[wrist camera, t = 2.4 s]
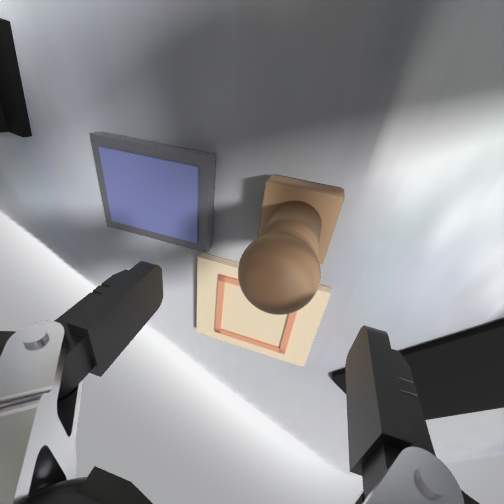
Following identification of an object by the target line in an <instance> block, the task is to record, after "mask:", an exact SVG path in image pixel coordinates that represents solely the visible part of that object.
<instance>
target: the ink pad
mask: <svg viewBox="0 0 504 504" xmlns="http://www.w3.org/2000/svg"><path fill="white" fill-rule="evenodd" d="M90 138H91V143H92V149H93V154H94V159H95V164H96V170H97V175H98V180H99V185H100V190H101V196H102V201H103V206H104V211H105V217H106V222H107V226H109V227H113V228H117V229H121V230H124V231H128V232H132V233H135V234H139V235H143V236H147V237H150V238H154V239H158V240H161V241H165V242H169V243H173V244H176V245H180V246H184V247H187V248H191V249H195V250H199V251H202V252H207V251H208V250H209V249H210V248H211V246H212V232H213V210H214V189H215V168H216V154H212V153H207V152H202V151H197V150H192V149H187V148H182V147H177V146H171V145H166V144H161V143H156V142H151V141H146V140H141V139H136V138H131V137H126V136H121V135H116V134H110V133H105V132H96V133H90Z"/></svg>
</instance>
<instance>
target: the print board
mask: <svg viewBox="0 0 504 504" xmlns="http://www.w3.org/2000/svg"><path fill="white" fill-rule="evenodd" d="M238 267H239V263H238V262H234V261H230V260H227V259H223V258H219V257H216V256H212V255H208V254H205V253H201V254H200V255H199V256H198V260H197V331H196V332H198V333H201V334H204V335H207V336H210V337H213V338H216V339H219V340H222V341H225V342H228V343H232V344H235V345H238V346H241V347H244V348H247V349H250V350H253V351H256V352H259V353H262V354H265V355H268V356H271V357H274V358H277V359H280V360H283V361H286V362H289V363H292V364H295V365H298V366H301V367H304V365H305V362H306V359H307V357H308V354H309V351H310V348H311V346H312V343H313V340H314V338H315V335H316V332H317V330H318V327H319V324H320V321H321V319H322V316H323V313H324V311H325V308H326V305H327V303H328V300H329V297H330V294H331V288H330V287H327V286H323V285H319V287H318V289H317V292H316V294H315V295H314V297H313V298H312V300H311V301H310V302H309V303H308V304H307V305H306V306H304V307H303V308H301V309H300V310H298V311H296V312H293V313H290V314H285V315H275V314H269V313H266V312H263V311H261V310H259V309H258V308H256V307H255V306H253V305H252V304H251V303H250V302H249V301H248V300H247V298H246V297H245V296H244V294H243V292H242V290H241V287H240V284H239V280H238Z"/></svg>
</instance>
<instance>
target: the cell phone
mask: <svg viewBox="0 0 504 504" xmlns="http://www.w3.org/2000/svg"><path fill="white" fill-rule="evenodd" d="M400 353H401V354H402V356H403V357H404V359H405V360H406V362H407V363H408V364H409V366H410V369H411V372H412V376H413V379H414V385H415V386H416V390H417V393H418V395H417V397H418V398H419V400H420V404H421V407H422V411H423V414H424V418H425V420H428V419H434V418H440V417H447V416H453V415H459V414H465V413H472V412H478V411H484V410H490V409H497V408H503V407H504V319H503V320H500V321H497V322H493V323H490V324H487V325H484V326H480V327H477V328H474V329H471V330H468V331H464V332H461V333H458V334H455V335H451V336H448V337H445V338H442V339H438V340H435V341H432V342H429V343H426V344H422V345H419V346H416V347H413V348H409V349H406V350H403V351H400ZM332 379H333V381H334V382H335V383H336V384H337V385H338V386H339V387H340V388H341V389H342V390H343V391H344V392H345V393H346V372H345V369H342V370H338V371H335V372H333V373H332Z"/></svg>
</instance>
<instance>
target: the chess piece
mask: <svg viewBox="0 0 504 504" xmlns="http://www.w3.org/2000/svg"><path fill="white" fill-rule="evenodd" d="M0 132H11V133H14V134H16V135H19V136H21V137H28V136H32V134H31V129H30V124H29V119H28V114H27V108H26V103H25V98H24V93H23V88H22V83H21V78H20V72H19V67H18V62H17V57H16V52H15V47H14V41H13V36H12V31H11V26H10V21H7V20H4V19H1V18H0Z"/></svg>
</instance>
